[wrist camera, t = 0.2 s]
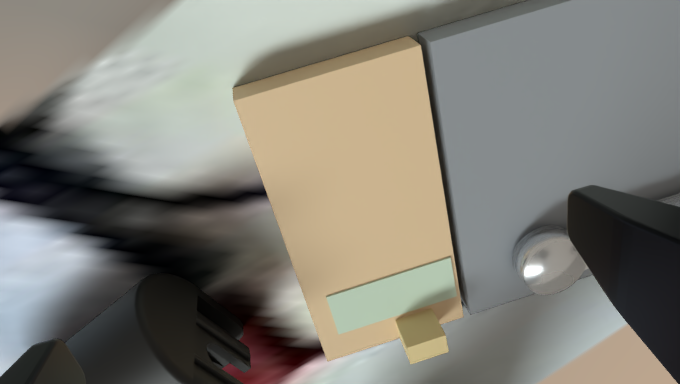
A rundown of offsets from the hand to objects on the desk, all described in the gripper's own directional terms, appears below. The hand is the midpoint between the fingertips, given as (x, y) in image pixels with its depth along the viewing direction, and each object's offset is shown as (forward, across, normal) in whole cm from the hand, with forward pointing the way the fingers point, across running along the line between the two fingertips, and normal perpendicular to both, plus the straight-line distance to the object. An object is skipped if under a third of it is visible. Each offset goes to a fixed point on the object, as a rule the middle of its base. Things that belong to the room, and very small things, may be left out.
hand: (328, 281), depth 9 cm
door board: (+14, -10, +8) cm, 19 cm away
